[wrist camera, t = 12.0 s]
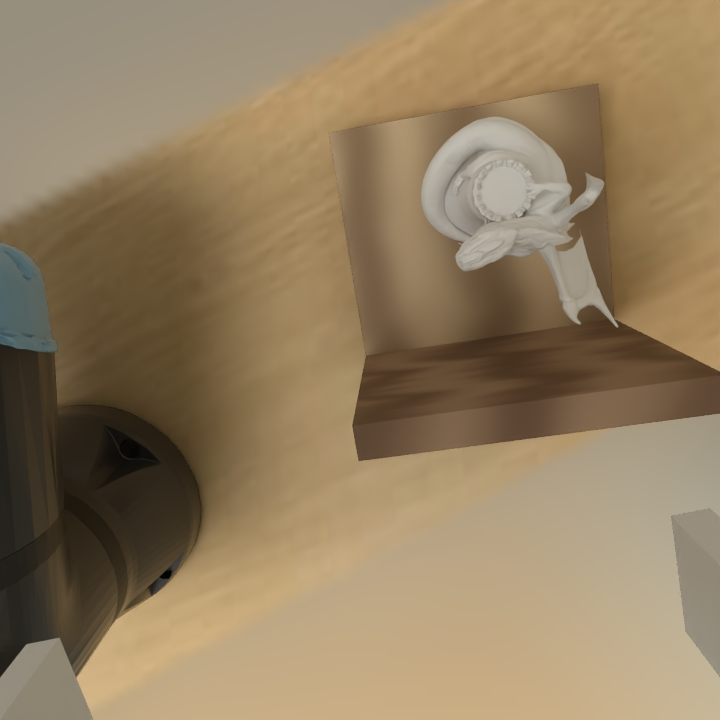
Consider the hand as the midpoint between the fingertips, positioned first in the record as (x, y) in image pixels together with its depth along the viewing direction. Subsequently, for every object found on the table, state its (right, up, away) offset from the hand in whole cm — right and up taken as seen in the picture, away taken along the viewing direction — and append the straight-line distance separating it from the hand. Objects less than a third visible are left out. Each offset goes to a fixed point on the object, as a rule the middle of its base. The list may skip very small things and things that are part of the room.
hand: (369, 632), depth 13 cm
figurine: (+8, +14, +22) cm, 28 cm away
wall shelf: (+7, +13, +26) cm, 30 cm away
